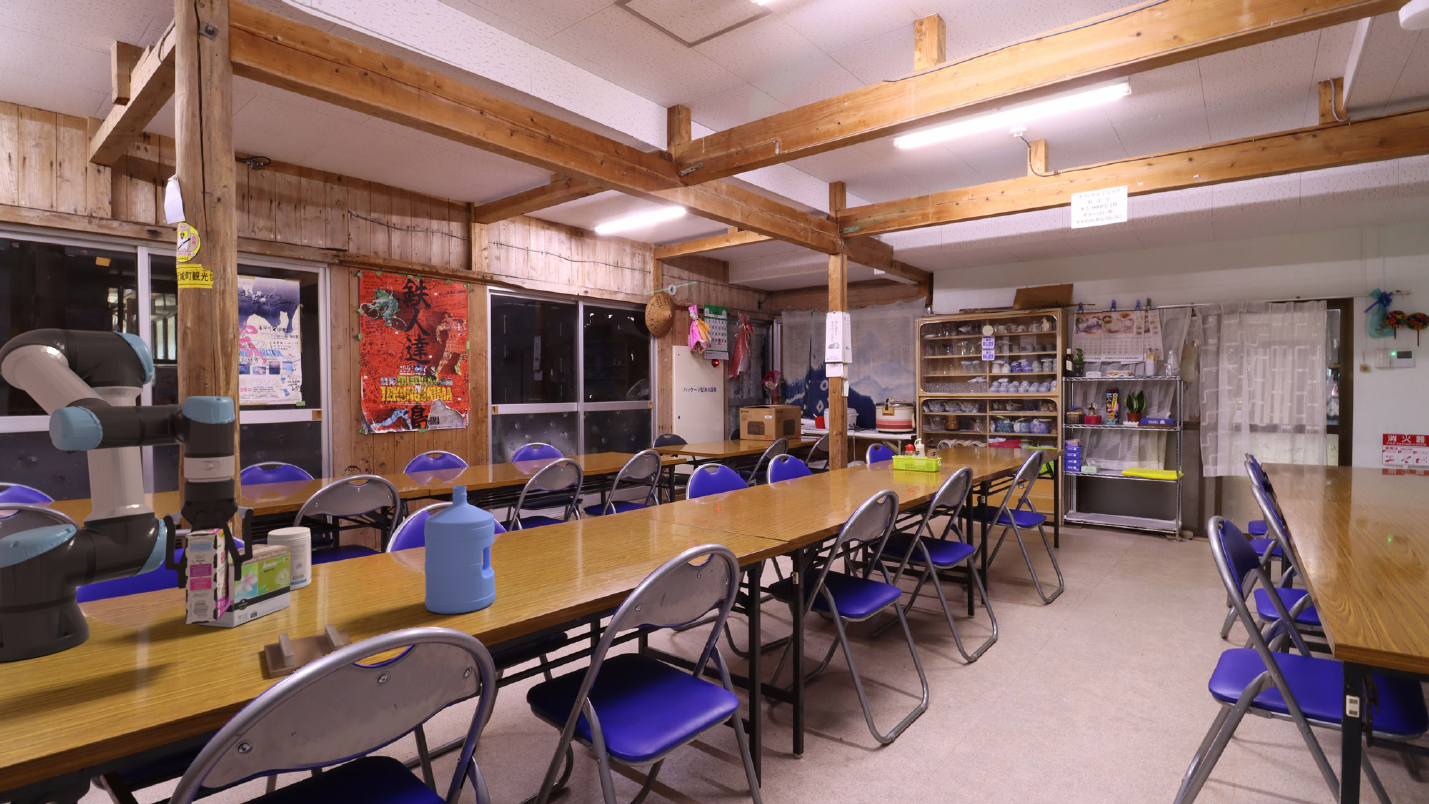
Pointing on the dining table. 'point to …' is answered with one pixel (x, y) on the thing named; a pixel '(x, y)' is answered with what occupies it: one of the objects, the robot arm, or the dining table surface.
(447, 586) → the water jug
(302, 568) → the supplement tub
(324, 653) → the brown flat ridged block
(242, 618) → the tea box
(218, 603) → the candy bar box
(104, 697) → the dining table surface
